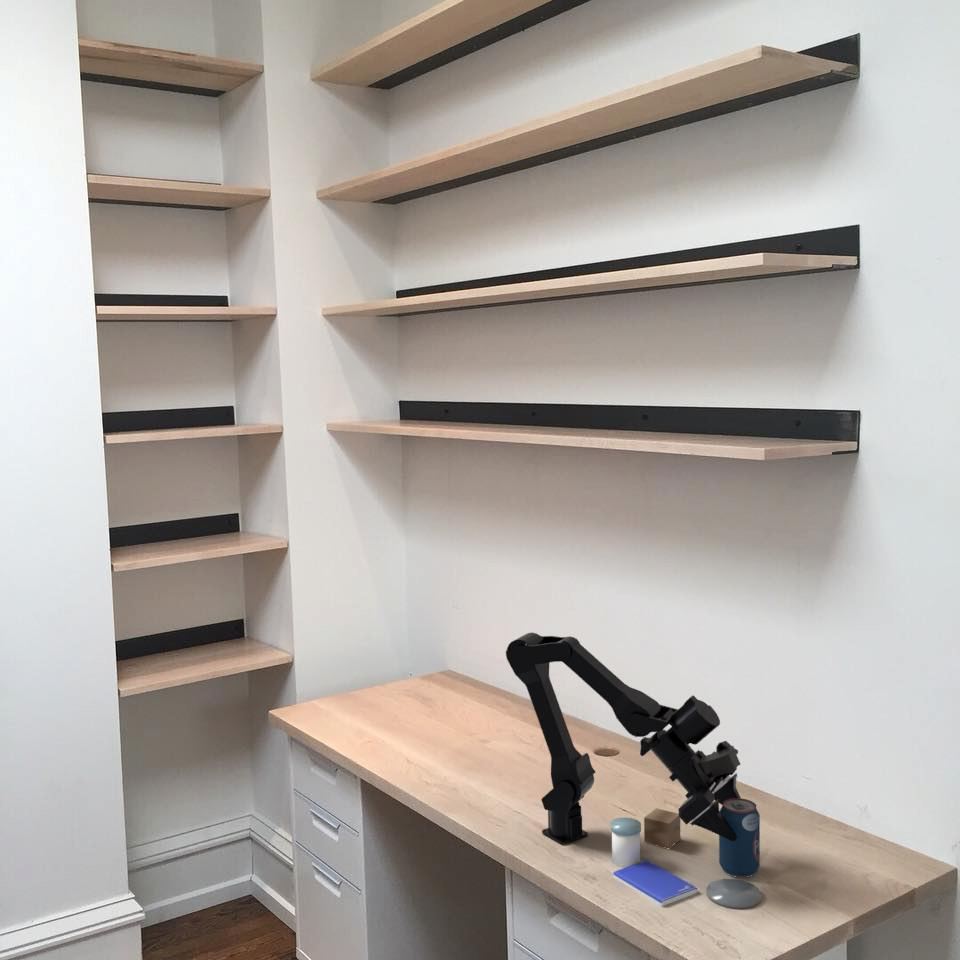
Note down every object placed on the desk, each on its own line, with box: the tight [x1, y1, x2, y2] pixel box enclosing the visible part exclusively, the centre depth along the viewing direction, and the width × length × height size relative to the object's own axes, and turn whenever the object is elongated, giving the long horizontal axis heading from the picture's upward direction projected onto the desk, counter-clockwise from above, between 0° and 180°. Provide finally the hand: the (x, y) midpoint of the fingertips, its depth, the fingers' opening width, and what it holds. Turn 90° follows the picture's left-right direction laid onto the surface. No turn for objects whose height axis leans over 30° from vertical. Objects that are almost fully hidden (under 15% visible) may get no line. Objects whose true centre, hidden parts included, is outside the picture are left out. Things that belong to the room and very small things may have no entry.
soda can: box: [718, 798, 761, 878], centre depth 182 cm, size 7×7×12 cm
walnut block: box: [643, 807, 681, 849], centre depth 195 cm, size 5×5×5 cm
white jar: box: [610, 817, 642, 868], centre depth 187 cm, size 5×5×7 cm
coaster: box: [706, 878, 763, 910], centre depth 174 cm, size 9×9×1 cm
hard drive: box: [612, 859, 699, 907], centre depth 178 cm, size 2×8×12 cm
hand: (741, 829), depth 182 cm, fingers open, 9 cm apart
